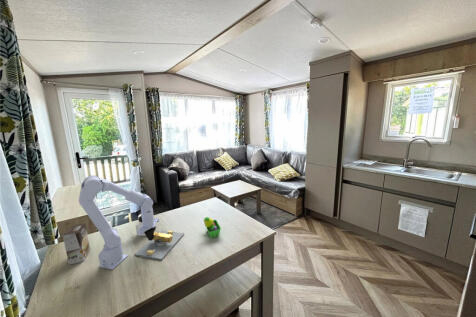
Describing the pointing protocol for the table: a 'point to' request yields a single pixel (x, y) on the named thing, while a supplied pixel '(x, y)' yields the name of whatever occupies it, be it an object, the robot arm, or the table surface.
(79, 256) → the coffee box
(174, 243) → the base
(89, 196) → the robot arm
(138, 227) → the medicine bottle
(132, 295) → the table surface
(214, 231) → the fruit basket
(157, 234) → the long golden bar
